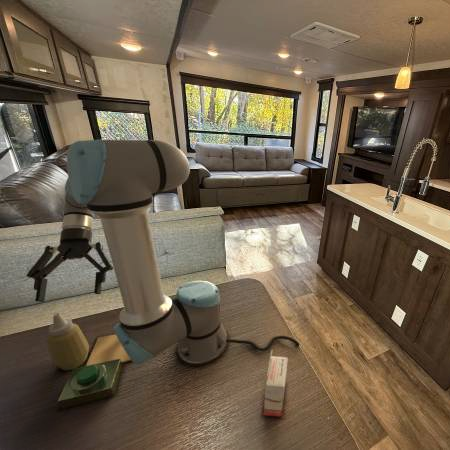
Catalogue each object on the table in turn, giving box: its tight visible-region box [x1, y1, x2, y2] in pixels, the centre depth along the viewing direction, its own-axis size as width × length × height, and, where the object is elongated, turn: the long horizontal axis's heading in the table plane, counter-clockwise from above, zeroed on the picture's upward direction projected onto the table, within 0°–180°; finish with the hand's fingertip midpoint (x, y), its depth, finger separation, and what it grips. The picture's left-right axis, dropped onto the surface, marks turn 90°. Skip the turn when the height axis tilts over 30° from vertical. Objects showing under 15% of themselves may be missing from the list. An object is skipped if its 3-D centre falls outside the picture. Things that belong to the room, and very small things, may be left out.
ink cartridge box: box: [263, 350, 289, 418], centre depth 65 cm, size 9×5×15 cm, turn 178°
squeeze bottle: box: [46, 312, 90, 371], centre depth 69 cm, size 8×8×18 cm
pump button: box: [77, 365, 98, 385], centre depth 64 cm, size 4×4×2 cm
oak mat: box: [85, 333, 133, 366], centre depth 78 cm, size 12×12×1 cm
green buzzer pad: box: [57, 359, 123, 409], centre depth 66 cm, size 11×9×5 cm
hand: (69, 297), depth 73 cm, fingers open, 13 cm apart
